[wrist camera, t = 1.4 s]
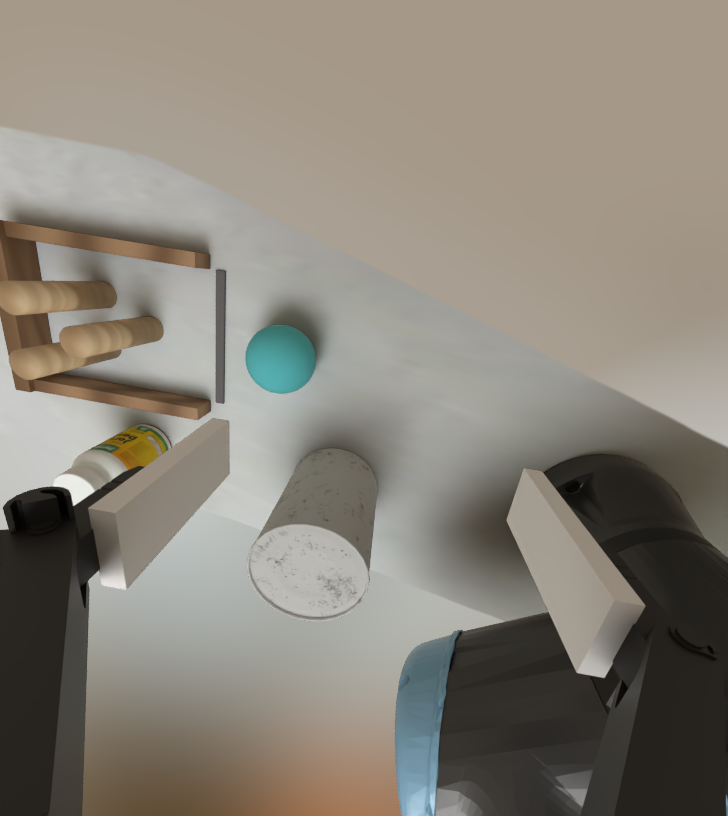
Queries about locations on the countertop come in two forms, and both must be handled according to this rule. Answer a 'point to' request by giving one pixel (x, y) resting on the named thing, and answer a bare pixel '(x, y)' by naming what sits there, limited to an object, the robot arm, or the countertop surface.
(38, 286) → the pin
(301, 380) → the ball
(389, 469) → the countertop surface
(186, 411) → the frame
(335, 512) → the speckled white cylinder
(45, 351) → the pin
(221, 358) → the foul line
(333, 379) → the countertop surface
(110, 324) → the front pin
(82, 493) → the supplement bottle
